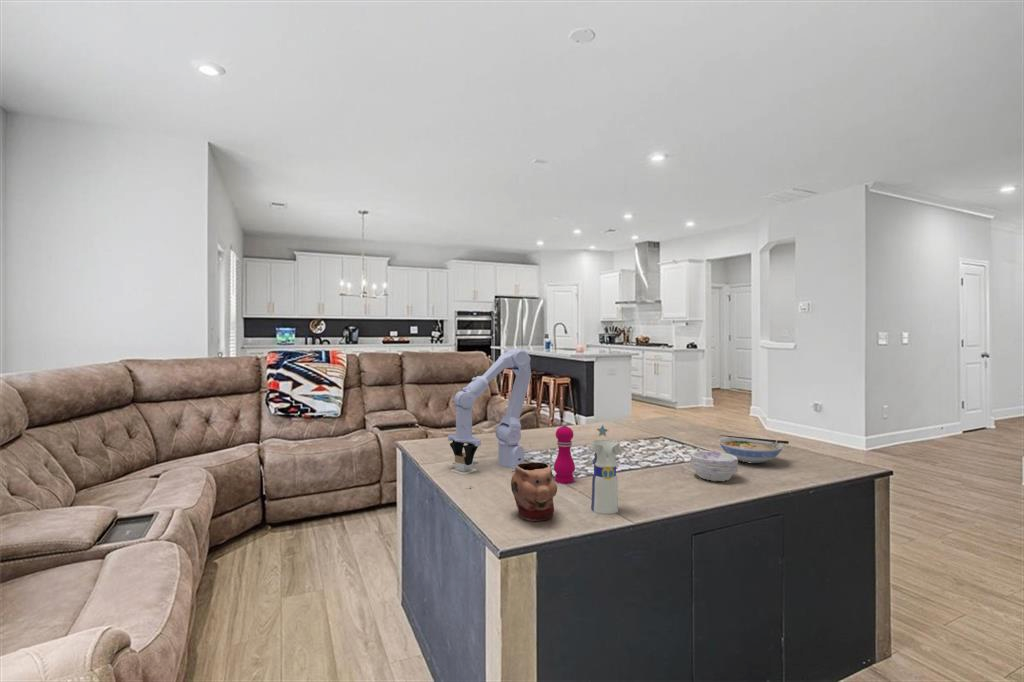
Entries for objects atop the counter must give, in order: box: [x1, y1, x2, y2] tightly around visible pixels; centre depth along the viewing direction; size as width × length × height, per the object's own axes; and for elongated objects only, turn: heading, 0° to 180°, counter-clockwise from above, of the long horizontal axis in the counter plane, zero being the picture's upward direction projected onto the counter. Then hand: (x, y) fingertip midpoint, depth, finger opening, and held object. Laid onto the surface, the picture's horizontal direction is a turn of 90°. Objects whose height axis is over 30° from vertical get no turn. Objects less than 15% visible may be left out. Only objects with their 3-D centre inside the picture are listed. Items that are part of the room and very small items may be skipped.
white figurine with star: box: [590, 424, 622, 515], centre depth 143 cm, size 8×9×25 cm
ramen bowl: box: [718, 434, 790, 464], centre depth 195 cm, size 25×23×8 cm
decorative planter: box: [510, 461, 558, 522], centre depth 139 cm, size 20×12×14 cm, turn 23°
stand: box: [450, 468, 478, 475], centre depth 178 cm, size 7×7×1 cm
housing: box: [454, 451, 474, 471], centre depth 178 cm, size 4×4×5 cm
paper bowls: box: [689, 450, 739, 482], centre depth 174 cm, size 15×15×8 cm
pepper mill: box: [553, 421, 576, 484], centre depth 170 cm, size 7×7×20 cm
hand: (463, 463), depth 178 cm, fingers closed on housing, 4 cm apart
